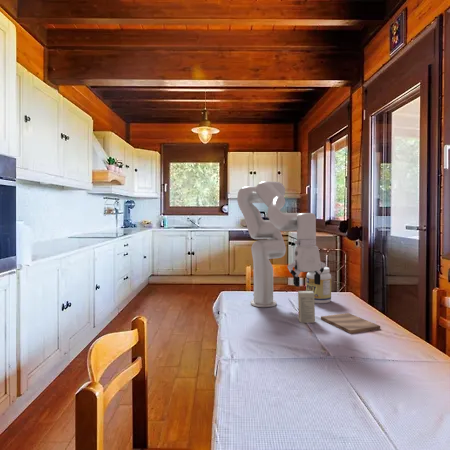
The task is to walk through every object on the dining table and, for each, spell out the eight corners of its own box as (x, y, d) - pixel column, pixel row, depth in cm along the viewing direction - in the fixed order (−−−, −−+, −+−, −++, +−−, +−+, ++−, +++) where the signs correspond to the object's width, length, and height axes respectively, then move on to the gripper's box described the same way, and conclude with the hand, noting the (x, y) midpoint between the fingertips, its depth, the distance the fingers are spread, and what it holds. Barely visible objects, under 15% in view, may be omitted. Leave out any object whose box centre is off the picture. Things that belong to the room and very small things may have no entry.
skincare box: (313, 319, 140) (313, 290, 139) (315, 323, 135) (315, 293, 135) (297, 319, 140) (297, 290, 140) (299, 322, 136) (299, 292, 135)
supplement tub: (301, 299, 173) (301, 266, 172) (319, 296, 178) (319, 265, 178) (318, 305, 162) (318, 270, 161) (336, 301, 168) (336, 268, 167)
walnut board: (320, 319, 140) (320, 316, 140) (348, 315, 145) (348, 313, 145) (350, 333, 123) (350, 330, 123) (380, 329, 128) (380, 325, 128)
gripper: (292, 244, 130) (293, 288, 130) (330, 243, 136) (330, 285, 136) (283, 243, 137) (283, 285, 138) (319, 242, 143) (319, 282, 143)
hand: (307, 285), depth 137 cm, fingers open, 9 cm apart
